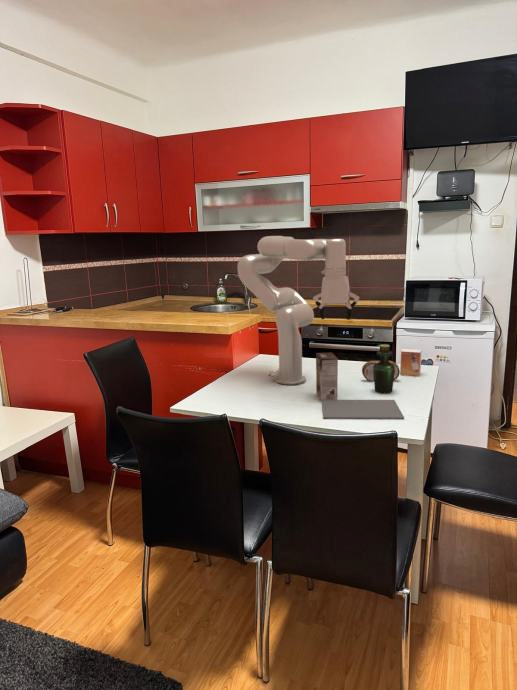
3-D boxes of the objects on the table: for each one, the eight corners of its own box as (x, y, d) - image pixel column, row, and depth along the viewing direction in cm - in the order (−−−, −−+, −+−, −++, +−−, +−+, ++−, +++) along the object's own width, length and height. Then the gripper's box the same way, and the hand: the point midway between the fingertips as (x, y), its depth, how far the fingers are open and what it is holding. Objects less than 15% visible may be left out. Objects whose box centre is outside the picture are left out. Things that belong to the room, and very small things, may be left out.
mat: (323, 418, 162) (323, 417, 162) (321, 401, 179) (321, 399, 179) (404, 419, 159) (404, 417, 159) (394, 401, 177) (394, 399, 177)
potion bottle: (373, 387, 194) (374, 342, 190) (395, 388, 191) (396, 343, 187) (371, 393, 186) (372, 347, 182) (393, 395, 183) (394, 348, 180)
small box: (399, 375, 209) (400, 351, 207) (401, 371, 214) (402, 348, 212) (419, 376, 206) (420, 352, 204) (420, 373, 211) (421, 349, 209)
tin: (398, 379, 203) (399, 360, 201) (400, 382, 200) (400, 362, 198) (361, 379, 204) (362, 360, 203) (362, 382, 201) (362, 362, 200)
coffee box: (315, 393, 188) (315, 352, 185) (332, 392, 189) (332, 351, 185) (320, 401, 179) (320, 358, 176) (337, 400, 180) (338, 357, 176)
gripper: (310, 274, 180) (311, 320, 184) (357, 273, 174) (357, 321, 177) (315, 272, 187) (316, 317, 190) (361, 272, 181) (361, 318, 184)
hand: (336, 319), depth 184 cm, fingers open, 9 cm apart
